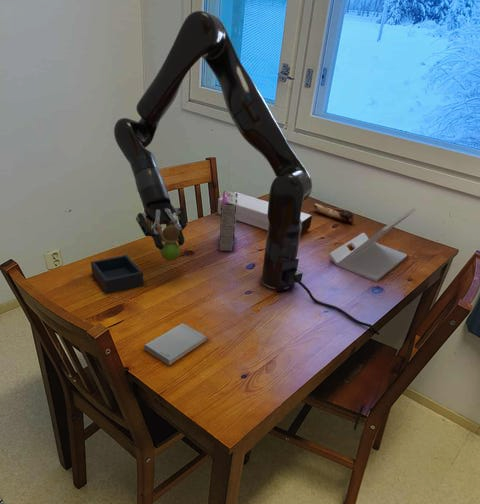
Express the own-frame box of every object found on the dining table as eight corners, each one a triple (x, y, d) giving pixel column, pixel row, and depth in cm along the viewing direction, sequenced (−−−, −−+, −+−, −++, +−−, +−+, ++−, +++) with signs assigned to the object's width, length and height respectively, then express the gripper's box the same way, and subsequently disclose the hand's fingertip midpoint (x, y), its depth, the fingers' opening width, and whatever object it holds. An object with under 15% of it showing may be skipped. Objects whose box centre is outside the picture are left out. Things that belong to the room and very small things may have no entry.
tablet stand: (407, 256, 159) (422, 210, 150) (376, 281, 143) (391, 231, 133) (360, 239, 168) (372, 194, 158) (326, 260, 151) (337, 211, 141)
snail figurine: (155, 256, 130) (154, 216, 123) (178, 254, 132) (178, 215, 125) (158, 265, 126) (157, 225, 119) (181, 263, 128) (182, 223, 121)
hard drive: (169, 360, 101) (206, 336, 110) (143, 344, 105) (181, 321, 113) (169, 366, 102) (206, 341, 111) (144, 350, 106) (181, 327, 114)
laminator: (309, 230, 170) (312, 215, 167) (294, 241, 161) (297, 225, 158) (232, 206, 183) (233, 191, 180) (215, 214, 174) (216, 199, 171)
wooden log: (359, 221, 183) (320, 206, 191) (362, 210, 181) (323, 195, 189) (348, 226, 177) (309, 211, 185) (351, 215, 174) (311, 200, 182)
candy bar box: (220, 236, 159) (223, 190, 150) (234, 237, 159) (238, 191, 150) (218, 250, 150) (221, 202, 141) (233, 252, 150) (237, 204, 141)
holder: (143, 285, 129) (143, 272, 126) (106, 294, 124) (105, 280, 121) (127, 267, 136) (126, 254, 134) (92, 274, 131) (90, 261, 129)
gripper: (130, 185, 119) (151, 246, 118) (179, 179, 126) (200, 237, 125) (123, 198, 125) (143, 256, 125) (171, 192, 133) (190, 246, 132)
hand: (171, 246), depth 125 cm, fingers closed on snail figurine, 5 cm apart
